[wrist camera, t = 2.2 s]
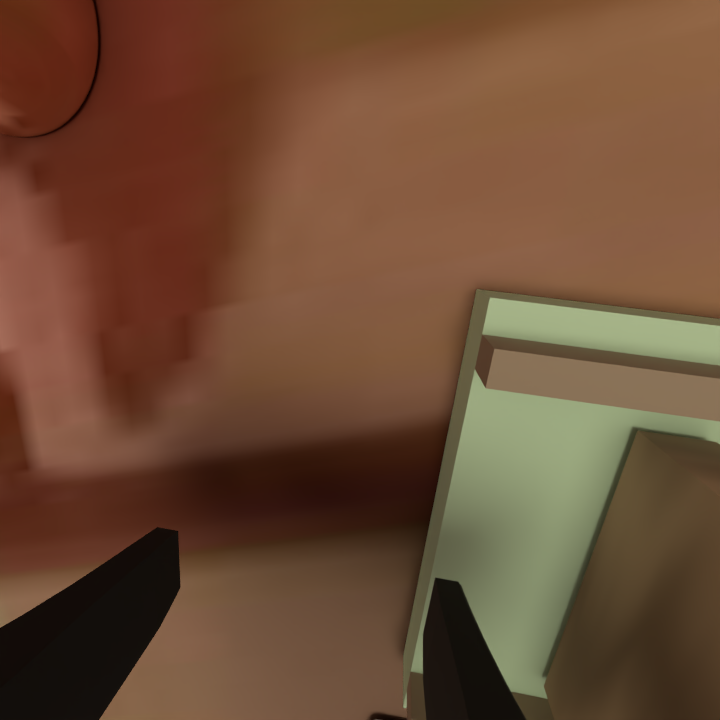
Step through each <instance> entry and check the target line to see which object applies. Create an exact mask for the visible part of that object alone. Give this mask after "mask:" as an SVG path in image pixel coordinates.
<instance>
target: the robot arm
mask: <svg viewBox="0 0 720 720" xmlns="http://www.w3.org/2000/svg"><path fill="white" fill-rule="evenodd" d="M179 589H180V568H179V545H178V531H175V530H170V529H164V528H158V527H157V528H156V529H154V530H153V531H151V532H150V533H148V534H147V535H145V536H144V537H142V538H141V539H139V540H138V541H136V542H135V543H133V544H132V545H130V546H129V547H127V548H126V549H124V550H123V551H122V552H120V553H119V554H117V555H116V556H114V557H113V558H111V559H110V560H108V561H107V562H105V563H104V564H102V565H101V566H99V567H98V568H96V569H95V570H93V571H92V572H90V573H89V574H87V575H86V576H84V577H83V578H81V579H80V580H78V581H77V582H75V583H74V584H72V585H70V586H69V587H67V588H66V589H64V590H62V591H61V592H59V593H57V594H56V595H54V596H53V597H51V598H49V599H48V600H46V601H45V602H43V603H41V604H40V605H38V606H36V607H35V608H33V609H32V610H30V611H28V612H27V613H25V614H23V615H22V616H20V617H18V618H17V619H15V620H13V621H11V622H10V623H8V624H6V625H4V626H3V627H1V628H0V720H99V719H100V717H101V716H102V714H103V713H104V711H105V710H106V708H107V707H108V705H109V704H110V702H111V701H112V699H113V698H114V696H115V695H116V693H117V692H118V690H119V689H120V687H121V686H122V684H123V683H124V681H125V680H126V678H127V677H128V675H129V673H130V672H131V670H132V669H133V667H134V666H135V664H136V663H137V661H138V660H139V658H140V657H141V655H142V654H143V652H144V651H145V649H146V648H147V646H148V645H149V643H150V641H151V640H152V638H153V637H154V635H155V634H156V632H157V631H158V629H159V627H160V626H161V624H162V622H163V620H164V618H165V616H166V614H167V613H168V611H169V609H170V607H171V605H172V603H173V601H174V599H175V597H176V595H177V593H178V591H179ZM423 687H424V699H425V710H426V720H526V718H525V716H524V714H523V713H522V711H521V709H520V707H519V705H518V704H517V702H516V700H515V698H514V696H513V695H512V693H511V691H510V689H509V687H508V685H507V683H506V681H505V679H504V677H503V676H502V674H501V672H500V670H499V668H498V666H497V664H496V662H495V660H494V658H493V656H492V654H491V652H490V650H489V648H488V645H487V643H486V641H485V639H484V637H483V635H482V633H481V631H480V628H479V626H478V624H477V622H476V620H475V617H474V615H473V613H472V610H471V608H470V606H469V603H468V601H467V598H466V596H465V594H464V591H463V588H462V586H461V585H460V583H459V582H458V581H452V580H447V579H441V578H436V577H435V580H434V585H433V590H432V594H431V599H430V604H429V608H428V613H427V617H426V622H425V627H424V631H423ZM375 720H381V719H375Z"/></svg>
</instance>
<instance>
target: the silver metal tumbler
mask: <svg viewBox="0 0 720 720" xmlns="http://www.w3.org/2000/svg"><path fill="white" fill-rule="evenodd" d="M97 57H98V25H97V17H96V11H95V6H94V1H93V0H0V134H4V135H9V136H17V137H32V136H39V135H43V134H46V133H49V132H51V131H53V130H55V129H57V128H59V127H61V126H62V125H63V124H65V123H66V122H67V121H68V120H69V119H71V118H72V117H73V115H74V114H75V113H76V112H77V111H78V109H79V108H80V107H81V105H82V104H83V102H84V100H85V98H86V96H87V94H88V92H89V90H90V87H91V85H92V81H93V78H94V74H95V70H96V65H97Z"/></svg>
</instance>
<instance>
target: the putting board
mask: <svg viewBox="0 0 720 720" xmlns="http://www.w3.org/2000/svg"><path fill="white" fill-rule="evenodd" d="M637 431H644V432H651V433H658V434H665V435H672V436H678V437H685V438H692V439H699V440H706V441H713V442H717V443H718V444H720V319H717V318H709V317H701V316H692V315H684V314H676V313H668V312H660V311H652V310H643V309H635V308H627V307H619V306H611V305H603V304H594V303H586V302H578V301H570V300H562V299H554V298H545V297H537V296H529V295H521V294H513V293H505V292H496V291H488V290H480V289H476V294H475V299H474V304H473V309H472V314H471V319H470V324H469V329H468V334H467V339H466V344H465V349H464V354H463V359H462V364H461V369H460V374H459V379H458V384H457V389H456V394H455V399H454V404H453V409H452V414H451V419H450V424H449V429H448V434H447V439H446V444H445V449H444V454H443V459H442V464H441V469H440V474H439V479H438V484H437V489H436V494H435V499H434V504H433V509H432V514H431V519H430V524H429V529H428V534H427V539H426V544H425V549H424V554H423V559H422V564H421V569H420V574H419V579H418V584H417V589H416V594H415V599H414V604H413V609H412V614H411V619H410V624H409V629H408V634H407V639H406V644H405V649H404V654H403V708H407V720H426V710H425V699H424V687H423V631H424V627H425V622H426V617H427V613H428V608H429V604H430V599H431V594H432V590H433V585H434V580H435V577H436V578H441V579H447V580H452V581H458V582H459V583H460V585H461V586H462V588H463V591H464V594H465V596H466V598H467V601H468V603H469V606H470V608H471V610H472V613H473V615H474V617H475V620H476V622H477V624H478V626H479V628H480V631H481V633H482V635H483V637H484V639H485V641H486V643H487V645H488V648H489V650H490V652H491V654H492V656H493V658H494V660H495V662H496V664H497V666H498V668H499V670H500V672H501V674H502V676H503V677H504V679H505V681H506V683H507V685H508V687H509V689H510V691H511V693H512V695H513V696H514V698H515V700H516V702H517V704H518V705H519V707H520V709H521V711H522V713H523V714H524V716H525V718H526V720H554V718H553V714H552V711H551V708H550V705H549V702H548V698H547V695H546V692H545V689H544V684H545V681H546V679H547V676H548V673H549V670H550V668H551V665H552V662H553V660H554V657H555V654H556V651H557V649H558V646H559V643H560V640H561V638H562V635H563V632H564V630H565V627H566V624H567V621H568V619H569V616H570V613H571V611H572V608H573V605H574V602H575V600H576V597H577V594H578V591H579V589H580V586H581V583H582V581H583V578H584V575H585V572H586V570H587V567H588V564H589V561H590V559H591V556H592V553H593V551H594V548H595V545H596V542H597V540H598V537H599V534H600V532H601V529H602V526H603V523H604V521H605V518H606V515H607V512H608V510H609V507H610V504H611V502H612V499H613V496H614V493H615V491H616V488H617V485H618V483H619V480H620V477H621V474H622V472H623V469H624V466H625V463H626V461H627V458H628V455H629V453H630V450H631V447H632V444H633V442H634V439H635V436H636V433H637Z"/></svg>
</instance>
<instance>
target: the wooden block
mask: <svg viewBox="0 0 720 720" xmlns="http://www.w3.org/2000/svg"><path fill="white" fill-rule="evenodd" d="M544 689H545V692H546V695H547V698H548V702H549V705H550V708H551V711H552V714H553V718H554V720H720V444H718V443H717V442H713V441H706V440H699V439H692V438H685V437H678V436H672V435H665V434H658V433H651V432H644V431H637V433H636V436H635V439H634V442H633V444H632V447H631V450H630V453H629V455H628V458H627V461H626V463H625V466H624V469H623V472H622V474H621V477H620V480H619V483H618V485H617V488H616V491H615V493H614V496H613V499H612V502H611V504H610V507H609V510H608V512H607V515H606V518H605V521H604V523H603V526H602V529H601V532H600V534H599V537H598V540H597V542H596V545H595V548H594V551H593V553H592V556H591V559H590V561H589V564H588V567H587V570H586V572H585V575H584V578H583V581H582V583H581V586H580V589H579V591H578V594H577V597H576V600H575V602H574V605H573V608H572V611H571V613H570V616H569V619H568V621H567V624H566V627H565V630H564V632H563V635H562V638H561V640H560V643H559V646H558V649H557V651H556V654H555V657H554V660H553V662H552V665H551V668H550V670H549V673H548V676H547V679H546V681H545V684H544Z"/></svg>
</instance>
